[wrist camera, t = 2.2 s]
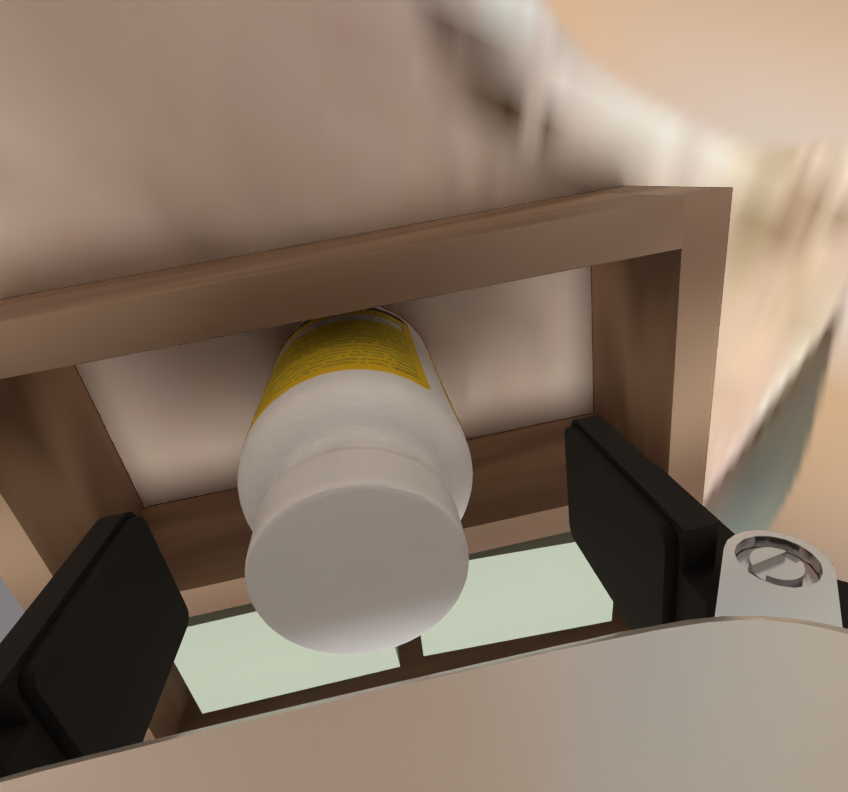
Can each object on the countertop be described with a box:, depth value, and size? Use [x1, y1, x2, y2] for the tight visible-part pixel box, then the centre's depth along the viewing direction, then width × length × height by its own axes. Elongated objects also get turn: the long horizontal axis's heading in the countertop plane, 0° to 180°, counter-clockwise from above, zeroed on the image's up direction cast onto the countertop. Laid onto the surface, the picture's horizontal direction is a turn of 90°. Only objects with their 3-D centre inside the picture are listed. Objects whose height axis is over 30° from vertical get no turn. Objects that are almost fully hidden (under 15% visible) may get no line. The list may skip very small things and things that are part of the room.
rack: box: [0, 186, 733, 742], centre depth 17 cm, size 16×20×5 cm
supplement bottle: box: [238, 307, 473, 655], centre depth 13 cm, size 5×5×10 cm
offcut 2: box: [420, 531, 613, 656], centre depth 19 cm, size 4×7×4 cm, turn 95°
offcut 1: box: [174, 603, 400, 714], centre depth 18 cm, size 4×7×4 cm, turn 99°
